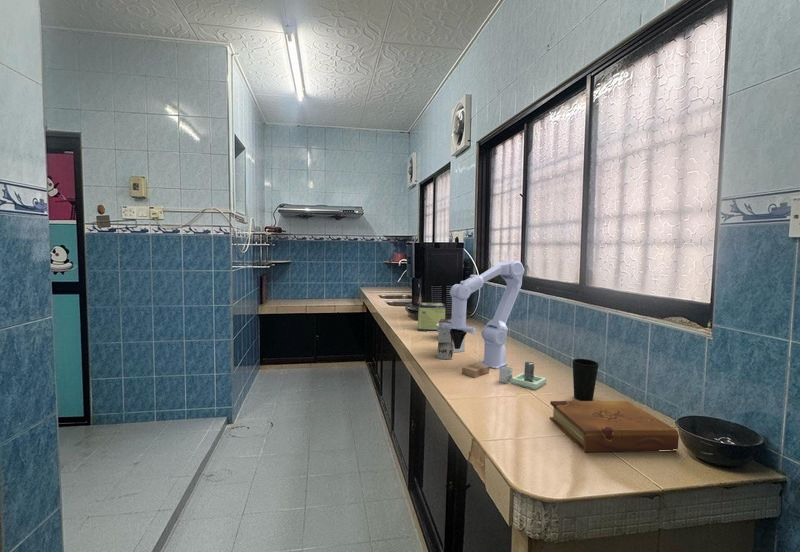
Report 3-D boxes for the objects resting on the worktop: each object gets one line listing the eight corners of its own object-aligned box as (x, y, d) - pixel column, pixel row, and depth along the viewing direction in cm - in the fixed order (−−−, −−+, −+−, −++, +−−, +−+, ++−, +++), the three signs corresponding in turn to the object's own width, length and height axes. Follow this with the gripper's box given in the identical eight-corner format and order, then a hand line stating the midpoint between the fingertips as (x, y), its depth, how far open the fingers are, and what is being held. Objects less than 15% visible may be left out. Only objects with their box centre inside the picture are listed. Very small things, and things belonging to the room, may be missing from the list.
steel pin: (526, 380, 141) (527, 361, 140) (534, 382, 139) (536, 363, 138) (522, 382, 139) (523, 362, 138) (530, 384, 136) (531, 365, 136)
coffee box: (452, 360, 167) (453, 322, 166) (437, 358, 168) (438, 321, 167) (453, 354, 176) (454, 319, 175) (439, 353, 177) (440, 318, 176)
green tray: (522, 377, 145) (522, 372, 145) (546, 383, 139) (546, 378, 139) (511, 383, 139) (511, 378, 138) (535, 390, 133) (536, 384, 132)
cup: (585, 404, 121) (588, 366, 121) (565, 395, 128) (567, 360, 127) (601, 400, 125) (603, 363, 124) (580, 392, 132) (583, 357, 131)
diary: (584, 455, 92) (586, 432, 91) (549, 420, 110) (550, 401, 110) (677, 454, 93) (679, 430, 93) (627, 419, 112) (628, 400, 111)
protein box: (445, 332, 224) (445, 305, 223) (418, 331, 224) (418, 304, 223) (443, 328, 234) (444, 303, 233) (417, 327, 234) (418, 302, 233)
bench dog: (504, 379, 143) (504, 366, 143) (511, 381, 141) (512, 367, 141) (499, 381, 140) (499, 368, 140) (506, 383, 138) (507, 370, 138)
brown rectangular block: (476, 370, 154) (476, 363, 154) (488, 374, 150) (489, 366, 150) (461, 374, 148) (462, 367, 148) (474, 379, 144) (475, 371, 144)
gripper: (438, 313, 155) (436, 346, 156) (469, 318, 145) (467, 353, 146) (448, 311, 160) (447, 343, 161) (479, 316, 151) (477, 350, 152)
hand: (457, 348), depth 154 cm, fingers closed
